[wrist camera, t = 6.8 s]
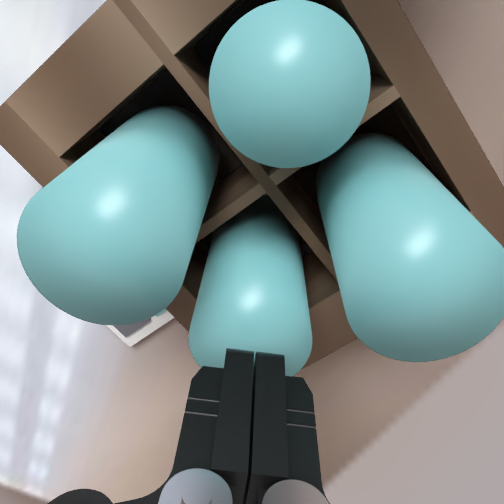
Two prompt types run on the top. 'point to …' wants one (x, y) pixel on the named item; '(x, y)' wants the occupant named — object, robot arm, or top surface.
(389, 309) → the turquoise cylinder
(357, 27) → the wooden compartment tray
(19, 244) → the pale teal rounded cylinder
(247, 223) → the light turquoise rounded peg
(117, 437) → the top surface
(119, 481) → the top surface
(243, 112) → the teal capsule
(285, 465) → the robot arm
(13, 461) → the top surface
